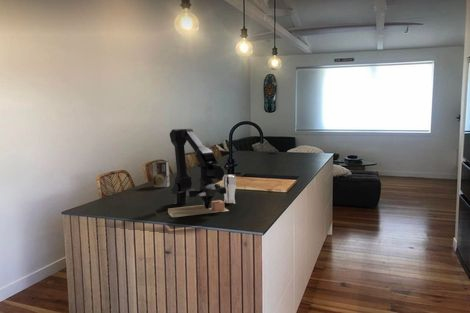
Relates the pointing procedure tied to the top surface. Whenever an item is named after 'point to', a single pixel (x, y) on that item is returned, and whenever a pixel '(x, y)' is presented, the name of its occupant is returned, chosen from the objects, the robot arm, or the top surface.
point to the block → (217, 205)
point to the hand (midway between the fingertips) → (206, 208)
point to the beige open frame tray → (190, 211)
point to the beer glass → (229, 188)
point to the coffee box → (161, 173)
